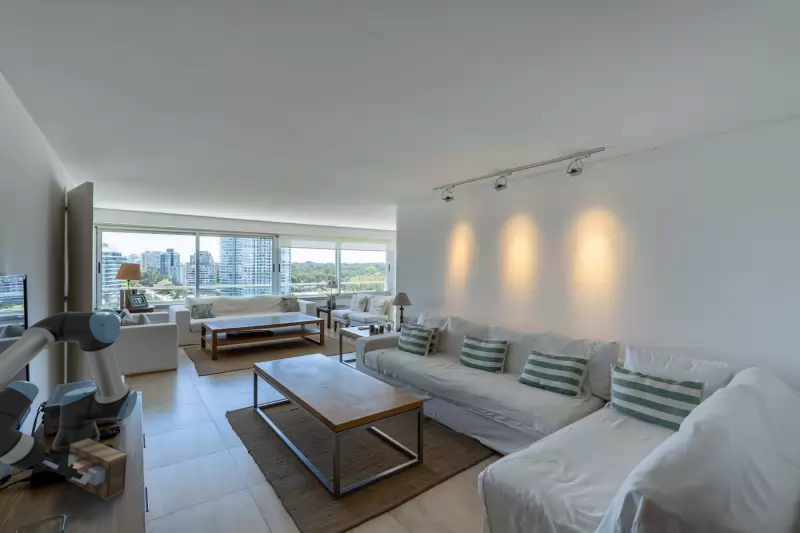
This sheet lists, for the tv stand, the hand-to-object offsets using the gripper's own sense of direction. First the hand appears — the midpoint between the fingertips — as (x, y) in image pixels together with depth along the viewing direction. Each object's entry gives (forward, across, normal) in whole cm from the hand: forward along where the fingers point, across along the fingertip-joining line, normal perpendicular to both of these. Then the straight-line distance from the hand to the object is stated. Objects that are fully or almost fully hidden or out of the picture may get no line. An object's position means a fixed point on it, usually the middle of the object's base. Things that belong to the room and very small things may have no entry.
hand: (87, 479), depth 118 cm
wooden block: (+10, -8, -1) cm, 13 cm away
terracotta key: (+3, -8, 0) cm, 9 cm away
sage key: (+5, -16, +2) cm, 17 cm away
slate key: (+4, 0, +1) cm, 4 cm away
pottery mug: (+16, -23, +4) cm, 28 cm away
